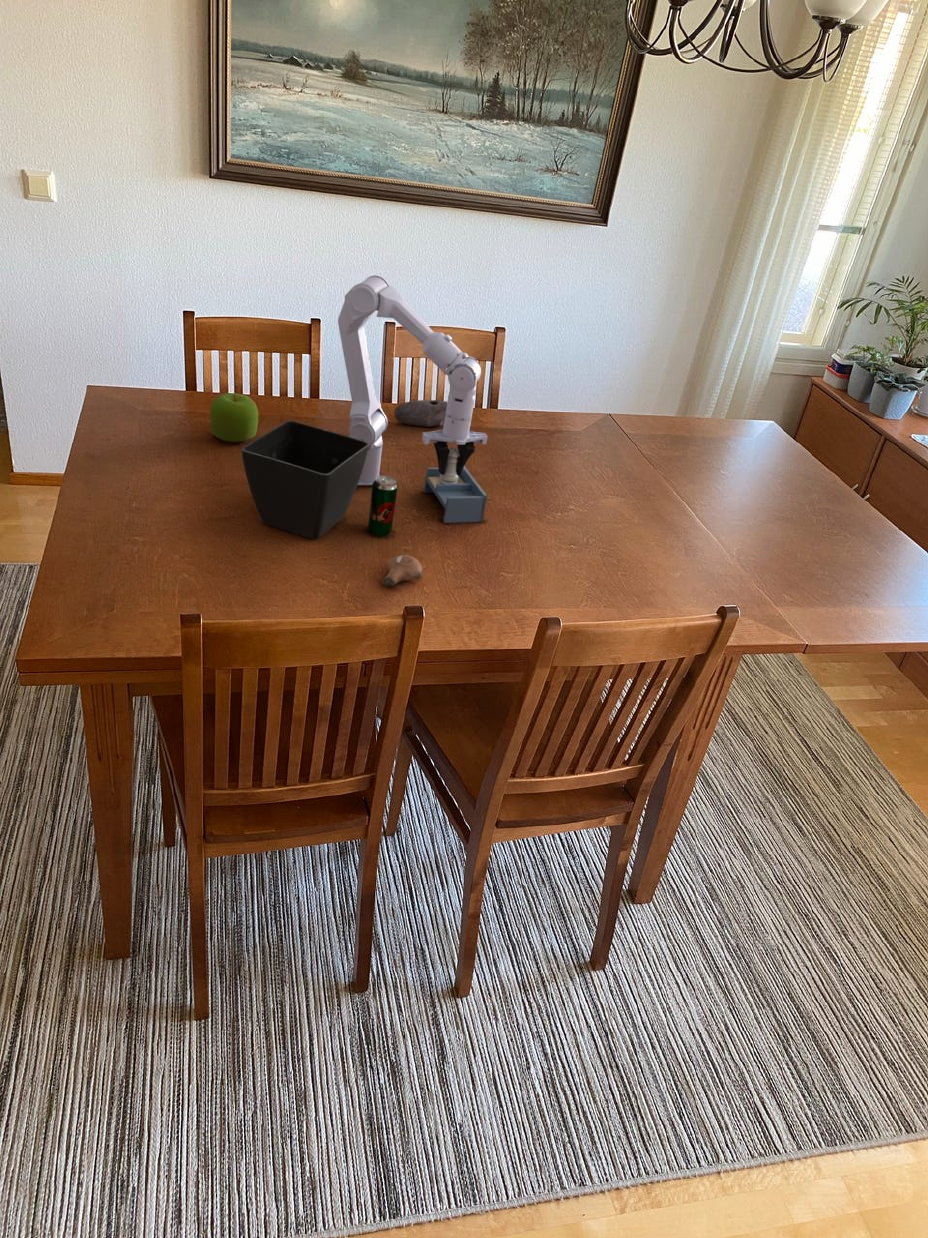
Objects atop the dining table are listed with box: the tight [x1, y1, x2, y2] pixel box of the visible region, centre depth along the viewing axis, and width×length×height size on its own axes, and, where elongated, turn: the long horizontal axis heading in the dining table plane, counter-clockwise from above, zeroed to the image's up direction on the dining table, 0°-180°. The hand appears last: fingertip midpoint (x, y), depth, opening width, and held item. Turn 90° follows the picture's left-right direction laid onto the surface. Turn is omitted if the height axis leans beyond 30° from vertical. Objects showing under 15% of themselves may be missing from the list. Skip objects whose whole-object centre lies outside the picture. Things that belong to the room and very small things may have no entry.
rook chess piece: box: [439, 446, 460, 484], centre depth 199 cm, size 4×4×8 cm
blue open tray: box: [423, 465, 488, 524], centre depth 199 cm, size 9×15×6 cm, turn 20°
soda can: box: [367, 475, 398, 538], centre depth 182 cm, size 5×5×12 cm
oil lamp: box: [381, 554, 423, 587], centre depth 171 cm, size 9×4×8 cm
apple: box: [209, 392, 259, 444], centre depth 210 cm, size 11×11×11 cm
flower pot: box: [241, 420, 369, 540], centre depth 180 cm, size 19×19×17 cm
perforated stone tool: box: [393, 399, 447, 428], centre depth 236 cm, size 15×5×7 cm, turn 101°
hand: (449, 472), depth 200 cm, fingers closed on rook chess piece, 3 cm apart
